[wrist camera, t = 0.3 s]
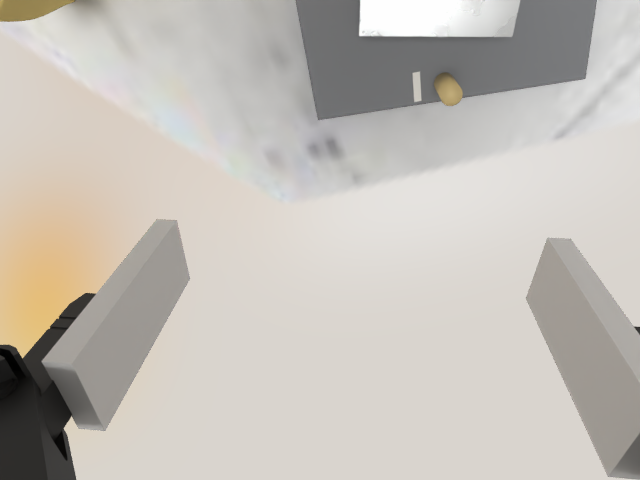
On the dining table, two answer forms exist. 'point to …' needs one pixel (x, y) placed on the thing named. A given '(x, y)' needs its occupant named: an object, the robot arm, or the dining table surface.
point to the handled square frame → (438, 18)
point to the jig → (438, 57)
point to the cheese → (28, 8)
